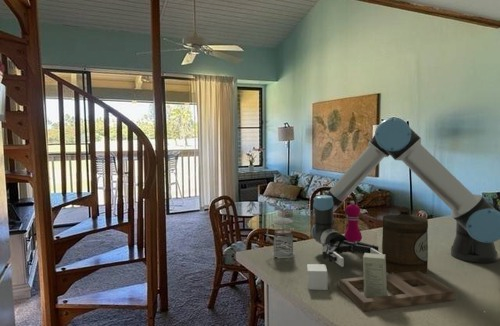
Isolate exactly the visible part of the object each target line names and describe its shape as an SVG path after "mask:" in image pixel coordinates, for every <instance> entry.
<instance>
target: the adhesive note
mask: <svg viewBox="0 0 500 326" xmlns="http://www.w3.org/2000/svg"><path fill="white" fill-rule="evenodd" d="M306 269H307V270H306V274H307V276H306V278H307V280H306V281H307V290H315V291H316V290H320V291H321V290H322V291H323V290H324V291H326V290H327V291H328V269H327V265H326V264H323V263H322V264H320V263H313V264H312V263H307V265H306Z"/></svg>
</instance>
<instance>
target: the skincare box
mask: <svg viewBox="0 0 500 326" xmlns="http://www.w3.org/2000/svg"><path fill="white" fill-rule="evenodd" d="M362 271H363V276H362V277H364V287H363V295H364V296H365V297H366V298H375V297H383V296H388V291H387V289H388V288H387V282H386V274H387V270H386V255H385V254H374V253H364V254H363V255H362Z"/></svg>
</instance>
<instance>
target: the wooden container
mask: <svg viewBox="0 0 500 326" xmlns="http://www.w3.org/2000/svg"><path fill="white" fill-rule="evenodd" d="M398 211H399V212H400V213H390V214H386V215H383V217H382V243H381V244H382V245H381V253H382V254H385V255H386V272H389V273H390V274H394V273H403V272H413V271H420V272H421V273H423V274H425V275H427V274H426V273H428V267H429V266H428V261H429V241H428V238H429V234H428V229H429V219H428V218H427V217H424V216H421V215H417V214H410V208H408V207H406V206H402V207H400V208H399V209H398Z"/></svg>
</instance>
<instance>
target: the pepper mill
mask: <svg viewBox="0 0 500 326" xmlns="http://www.w3.org/2000/svg"><path fill="white" fill-rule="evenodd" d="M344 211H345V214H346V219H347V228H346V230H345V232H344V234H343V235H344V236H345V237H346V239H347V241H349V242H353V243H355V241H359V242H361V241H362V240H363V239H362V238H363V236H362V232H361V231H360V228H359V225H358V222H359V220H360V216H359V215H360V214H361V209H360V207H359V205H357V204H355V201H354V200H350V204H347V206H345V210H344Z"/></svg>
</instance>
